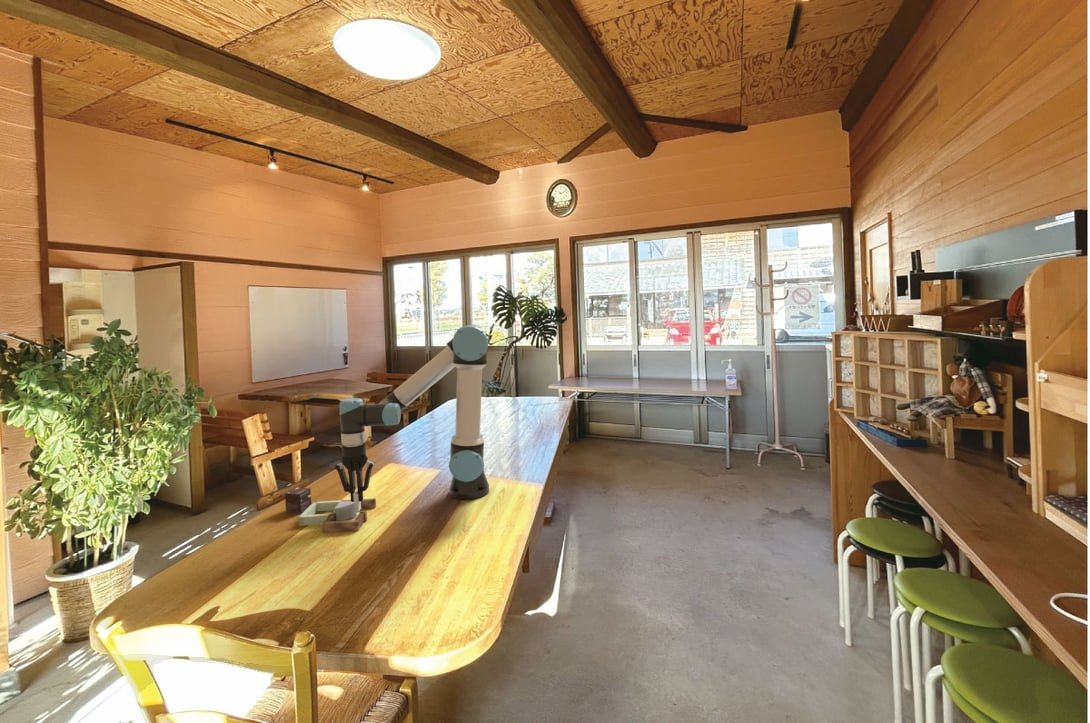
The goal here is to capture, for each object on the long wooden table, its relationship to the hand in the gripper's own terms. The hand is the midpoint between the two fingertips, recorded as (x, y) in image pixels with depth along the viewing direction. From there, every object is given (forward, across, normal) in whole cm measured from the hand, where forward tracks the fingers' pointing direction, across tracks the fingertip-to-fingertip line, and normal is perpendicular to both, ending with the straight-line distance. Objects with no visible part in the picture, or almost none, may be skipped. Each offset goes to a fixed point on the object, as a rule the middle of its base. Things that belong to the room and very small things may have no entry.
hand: (357, 510), depth 162 cm
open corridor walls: (+2, +2, +3) cm, 4 cm away
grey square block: (+2, +4, 0) cm, 4 cm away
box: (+2, +22, -7) cm, 24 cm away
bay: (+2, +12, 0) cm, 12 cm away
